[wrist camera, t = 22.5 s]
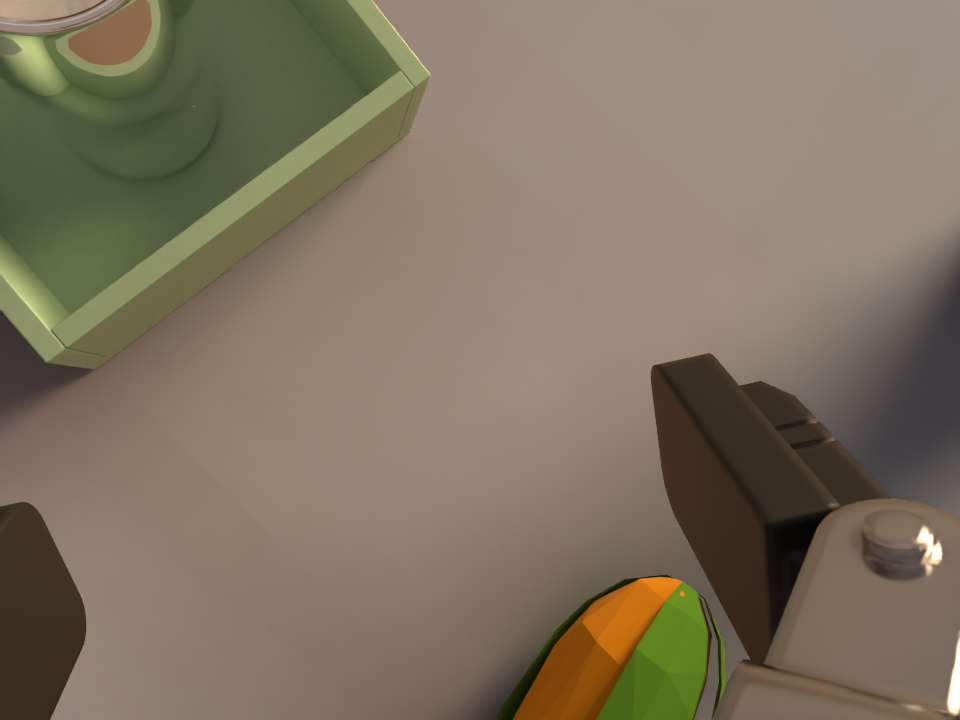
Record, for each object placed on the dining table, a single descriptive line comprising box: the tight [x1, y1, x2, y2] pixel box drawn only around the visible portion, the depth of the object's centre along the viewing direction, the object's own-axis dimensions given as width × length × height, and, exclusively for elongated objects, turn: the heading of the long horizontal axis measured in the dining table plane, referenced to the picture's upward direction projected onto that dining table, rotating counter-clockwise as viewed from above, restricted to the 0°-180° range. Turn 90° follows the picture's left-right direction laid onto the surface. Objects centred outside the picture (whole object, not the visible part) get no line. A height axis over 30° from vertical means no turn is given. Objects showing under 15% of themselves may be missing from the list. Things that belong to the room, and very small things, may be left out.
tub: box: [0, 0, 431, 370], centre depth 33 cm, size 17×15×7 cm
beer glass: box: [0, 0, 218, 179], centre depth 28 cm, size 7×7×15 cm
